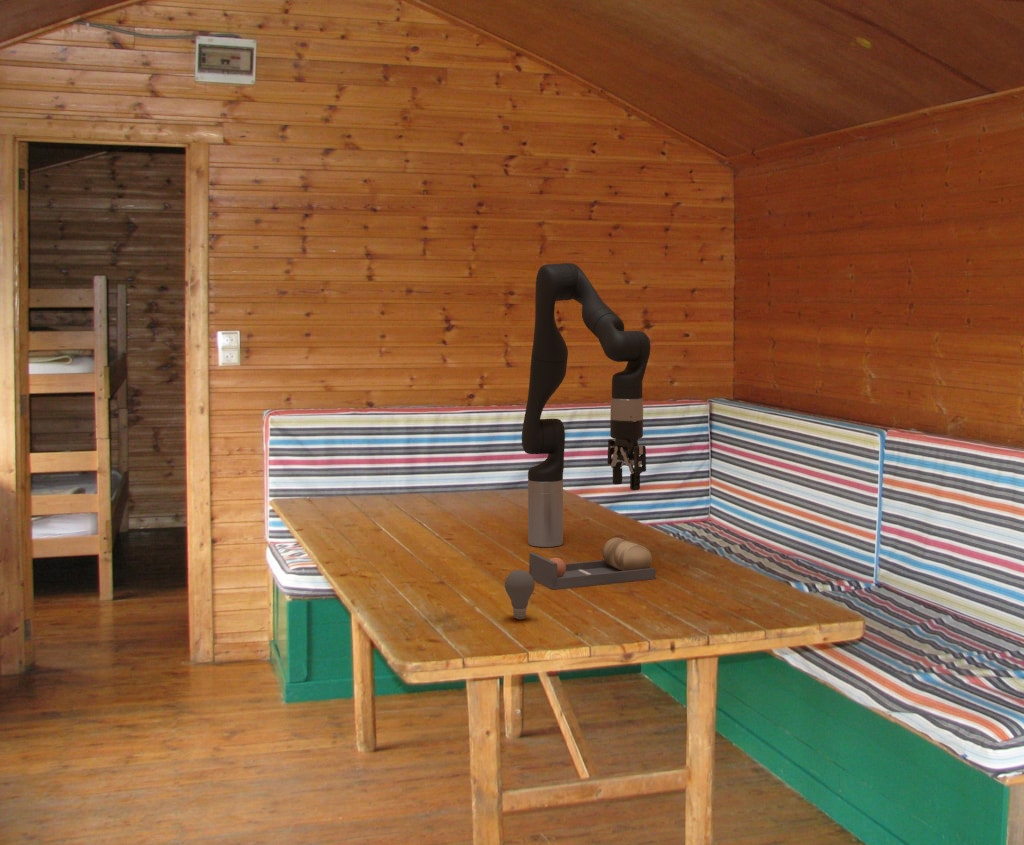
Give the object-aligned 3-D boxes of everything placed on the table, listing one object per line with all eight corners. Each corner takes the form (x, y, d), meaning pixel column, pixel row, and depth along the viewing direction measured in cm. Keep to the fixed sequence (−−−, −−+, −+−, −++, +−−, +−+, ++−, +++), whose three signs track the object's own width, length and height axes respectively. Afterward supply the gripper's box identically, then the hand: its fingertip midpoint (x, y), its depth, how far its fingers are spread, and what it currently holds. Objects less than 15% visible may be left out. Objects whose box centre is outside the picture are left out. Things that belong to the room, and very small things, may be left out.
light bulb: (533, 614, 238) (533, 566, 237) (535, 622, 232) (535, 573, 231) (504, 615, 238) (504, 567, 237) (505, 623, 232) (505, 573, 231)
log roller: (602, 567, 277) (602, 538, 277) (628, 565, 280) (628, 536, 279) (624, 577, 267) (625, 547, 266) (651, 574, 270) (651, 544, 269)
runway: (529, 577, 271) (529, 552, 270) (628, 567, 281) (628, 543, 281) (553, 589, 259) (553, 564, 259) (655, 578, 269) (655, 553, 269)
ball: (561, 573, 270) (542, 578, 268) (559, 553, 269) (540, 558, 267) (570, 578, 265) (551, 582, 264) (568, 557, 265) (549, 562, 263)
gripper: (598, 415, 275) (597, 483, 277) (627, 421, 262) (626, 493, 263) (626, 413, 278) (625, 481, 279) (656, 420, 265) (655, 490, 266)
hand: (626, 486), depth 271 cm, fingers open, 8 cm apart
